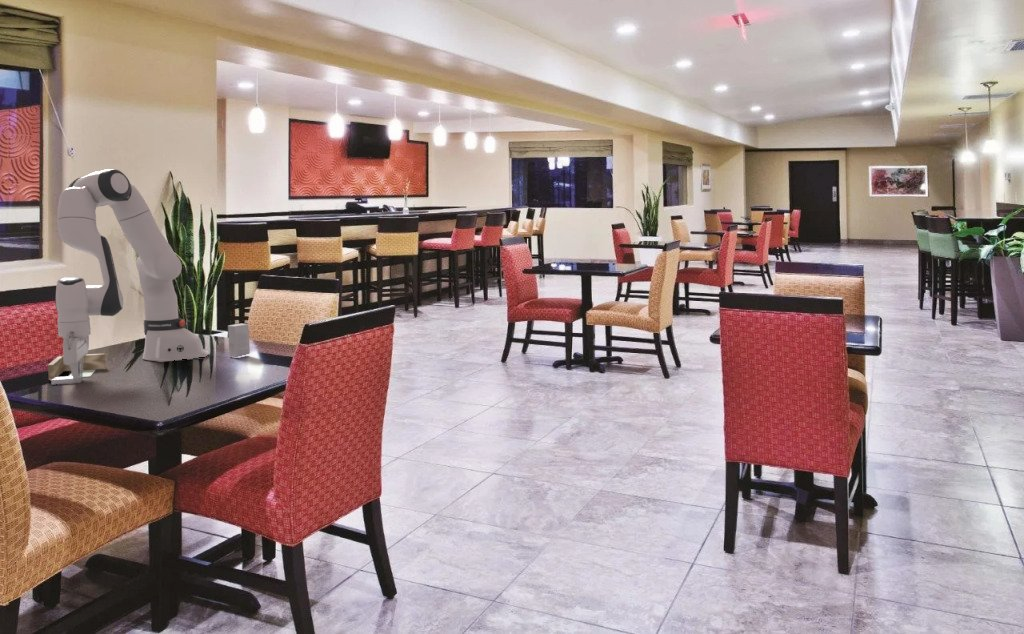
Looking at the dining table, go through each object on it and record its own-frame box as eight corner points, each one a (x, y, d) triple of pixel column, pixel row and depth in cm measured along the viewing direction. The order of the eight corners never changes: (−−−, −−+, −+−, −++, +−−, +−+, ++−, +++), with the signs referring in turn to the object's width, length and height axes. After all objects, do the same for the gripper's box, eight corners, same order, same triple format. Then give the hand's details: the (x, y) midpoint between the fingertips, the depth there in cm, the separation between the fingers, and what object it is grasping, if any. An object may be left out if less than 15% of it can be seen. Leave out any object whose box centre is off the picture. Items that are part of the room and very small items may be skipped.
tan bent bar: (106, 368, 270) (105, 353, 270) (98, 377, 255) (97, 362, 255) (59, 370, 266) (58, 355, 265) (48, 380, 251) (47, 365, 250)
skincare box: (242, 355, 294) (241, 323, 292) (250, 356, 291) (248, 324, 290) (228, 357, 289) (227, 325, 287) (236, 359, 286) (234, 326, 285)
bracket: (83, 380, 252) (81, 358, 251) (80, 383, 248) (78, 360, 247) (54, 381, 249) (52, 359, 248) (51, 384, 245) (49, 362, 244)
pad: (95, 370, 267) (95, 369, 267) (90, 376, 256) (90, 376, 256) (73, 371, 264) (73, 370, 264) (67, 378, 254) (66, 377, 254)
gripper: (79, 334, 238) (82, 379, 240) (91, 324, 258) (94, 366, 260) (55, 335, 236) (59, 381, 238) (69, 325, 256) (72, 367, 258)
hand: (77, 373), depth 249 cm, fingers open, 6 cm apart
